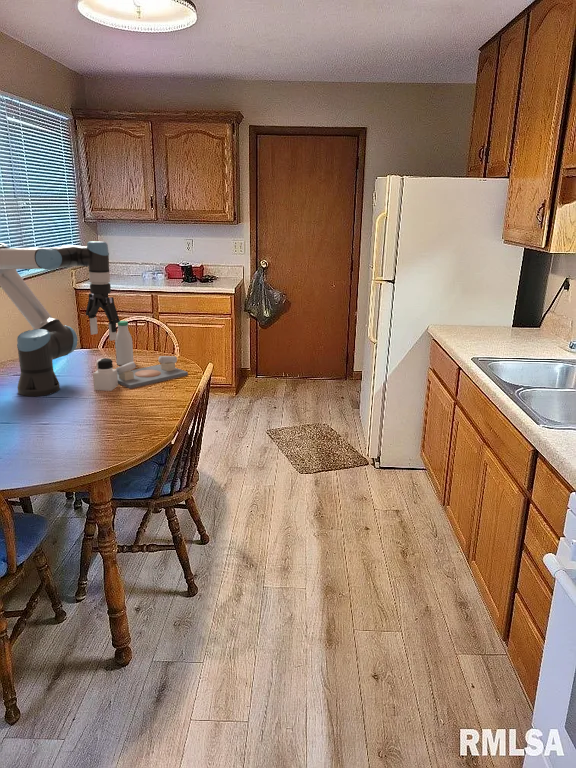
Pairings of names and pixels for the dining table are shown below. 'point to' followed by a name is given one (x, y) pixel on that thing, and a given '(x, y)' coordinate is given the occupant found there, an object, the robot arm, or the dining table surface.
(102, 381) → the medicine bottle
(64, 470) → the dining table surface
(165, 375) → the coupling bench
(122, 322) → the milk bottle
